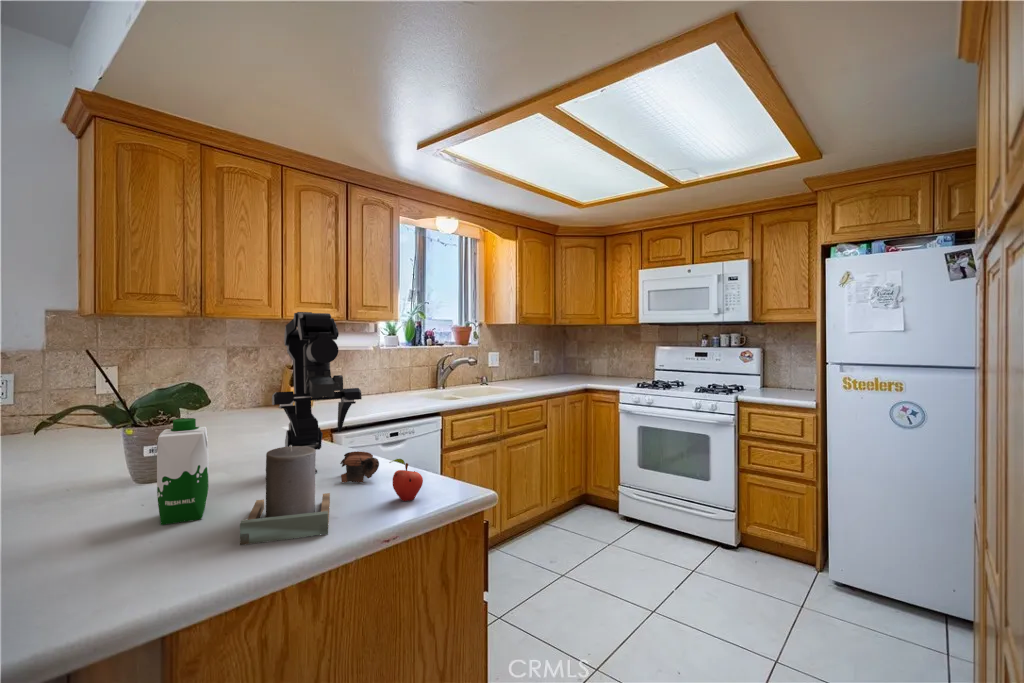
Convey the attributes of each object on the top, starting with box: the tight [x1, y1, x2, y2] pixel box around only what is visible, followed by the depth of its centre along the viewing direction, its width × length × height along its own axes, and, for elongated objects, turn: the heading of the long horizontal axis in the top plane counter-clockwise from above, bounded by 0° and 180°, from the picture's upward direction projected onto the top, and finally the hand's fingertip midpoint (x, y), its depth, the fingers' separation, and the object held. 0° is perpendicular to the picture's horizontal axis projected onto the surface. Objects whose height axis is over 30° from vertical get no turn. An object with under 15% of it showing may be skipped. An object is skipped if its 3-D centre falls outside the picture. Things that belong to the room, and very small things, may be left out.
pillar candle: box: [264, 445, 317, 518], centre depth 103 cm, size 10×10×15 cm
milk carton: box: [155, 417, 209, 526], centre depth 102 cm, size 9×9×20 cm
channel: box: [239, 492, 331, 546], centre depth 100 cm, size 19×15×4 cm
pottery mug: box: [339, 450, 380, 483], centre depth 129 cm, size 12×10×8 cm
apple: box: [388, 458, 424, 502], centre depth 113 cm, size 8×7×10 cm
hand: (318, 434), depth 112 cm, fingers open, 9 cm apart
